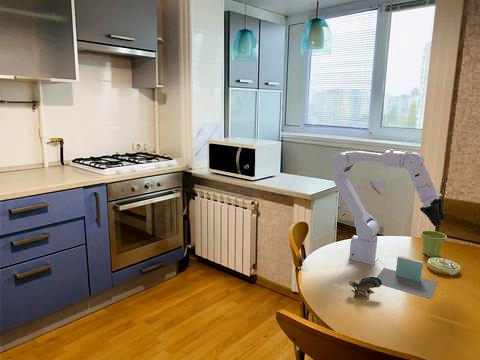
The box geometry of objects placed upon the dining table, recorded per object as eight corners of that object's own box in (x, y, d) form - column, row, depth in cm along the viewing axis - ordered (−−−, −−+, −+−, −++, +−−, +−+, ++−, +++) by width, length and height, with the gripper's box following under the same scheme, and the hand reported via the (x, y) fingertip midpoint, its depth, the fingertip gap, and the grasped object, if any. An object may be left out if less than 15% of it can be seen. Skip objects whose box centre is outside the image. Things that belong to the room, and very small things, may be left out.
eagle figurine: (369, 302, 109) (387, 289, 114) (357, 280, 111) (376, 268, 115) (352, 304, 116) (370, 292, 120) (342, 283, 117) (360, 272, 122)
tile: (395, 275, 129) (397, 257, 127) (396, 273, 130) (398, 255, 129) (420, 281, 124) (422, 263, 123) (420, 280, 125) (423, 261, 124)
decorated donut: (458, 280, 127) (459, 271, 126) (424, 272, 133) (425, 262, 132) (460, 269, 135) (462, 260, 134) (428, 262, 141) (430, 253, 140)
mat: (372, 283, 124) (372, 282, 124) (383, 268, 135) (383, 267, 135) (431, 300, 113) (431, 299, 113) (437, 283, 124) (438, 282, 124)
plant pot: (420, 247, 155) (423, 228, 153) (445, 253, 150) (448, 233, 148) (416, 255, 147) (418, 235, 146) (442, 261, 142) (445, 240, 140)
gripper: (432, 185, 117) (449, 224, 116) (439, 178, 129) (454, 214, 127) (410, 191, 121) (426, 230, 120) (418, 185, 133) (433, 219, 132)
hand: (439, 222), depth 124 cm, fingers open, 7 cm apart
